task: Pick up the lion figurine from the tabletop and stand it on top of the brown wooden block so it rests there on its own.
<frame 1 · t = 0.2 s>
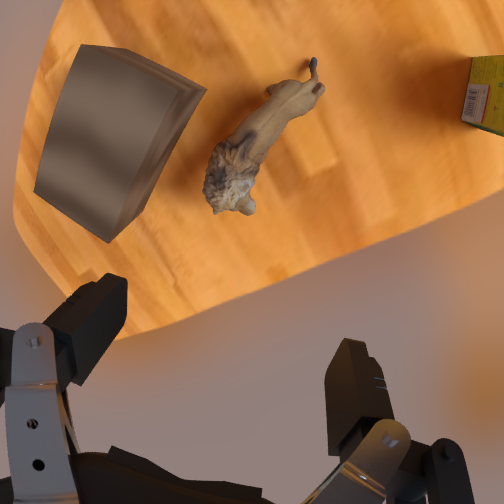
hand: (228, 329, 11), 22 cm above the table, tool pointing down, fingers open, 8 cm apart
crayon box: (476, 92, 22), on the table
lion figurine: (271, 127, 28), on the table
brown wooden block: (132, 130, 29), on the table
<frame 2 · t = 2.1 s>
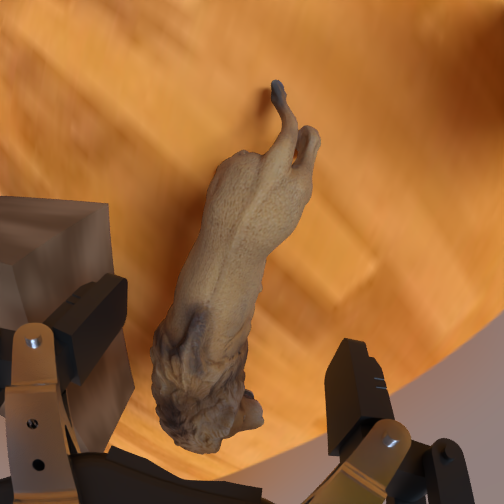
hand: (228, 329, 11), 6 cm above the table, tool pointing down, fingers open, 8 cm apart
lion figurine: (251, 237, 16), on the table
brown wooden block: (63, 298, 20), on the table
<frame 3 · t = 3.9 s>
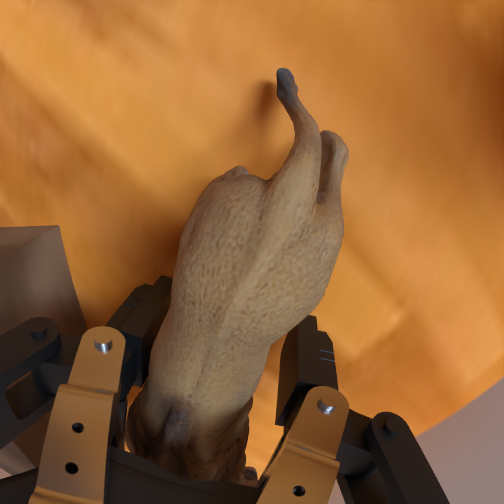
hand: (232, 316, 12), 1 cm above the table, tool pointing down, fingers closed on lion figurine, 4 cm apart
lion figurine: (252, 277, 13), on the table, touching gripper
brown wooden block: (39, 337, 16), on the table
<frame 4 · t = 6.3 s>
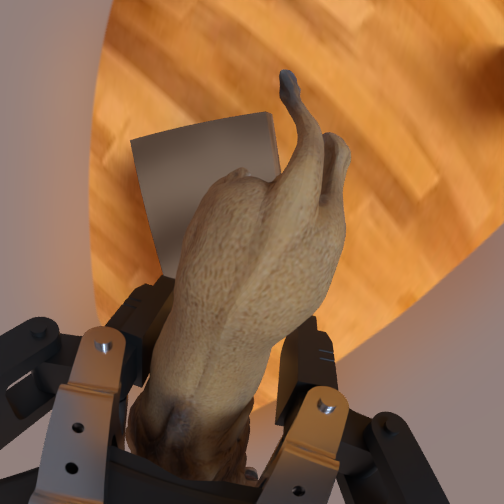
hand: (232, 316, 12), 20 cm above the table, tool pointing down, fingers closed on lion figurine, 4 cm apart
lion figurine: (254, 278, 13), point 18 cm above the table, touching gripper
brown wooden block: (231, 199, 30), on the table
when the fingers open (11 cm above the table, at t = 9.0 s): lion figurine drops 2 cm, resting on brown wooden block.
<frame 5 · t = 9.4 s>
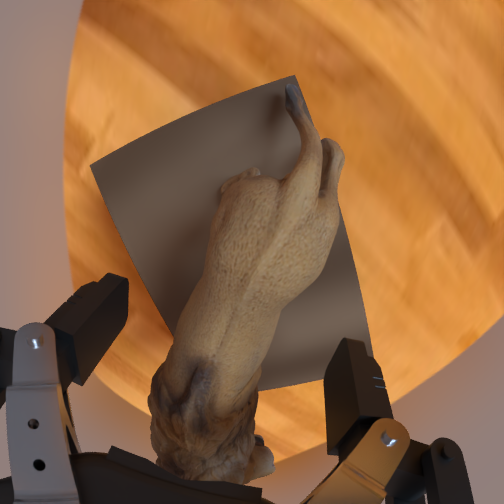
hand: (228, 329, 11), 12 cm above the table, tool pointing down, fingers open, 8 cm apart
lion figurine: (260, 264, 14), point 7 cm above the table, touching brown wooden block
brown wooden block: (259, 222, 22), on the table, touching lion figurine
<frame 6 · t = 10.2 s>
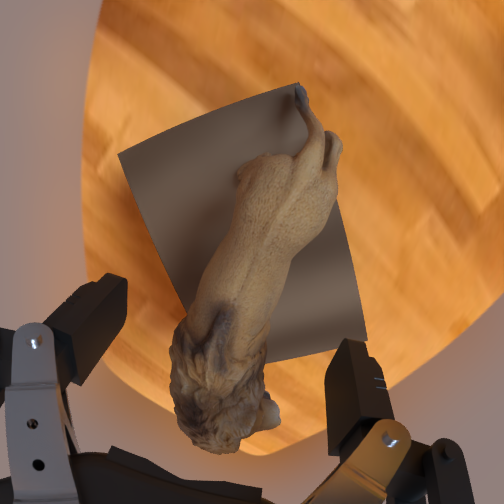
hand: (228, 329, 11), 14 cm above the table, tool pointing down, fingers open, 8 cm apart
lion figurine: (268, 239, 16), point 7 cm above the table, touching brown wooden block
brown wooden block: (263, 212, 24), on the table, touching lion figurine
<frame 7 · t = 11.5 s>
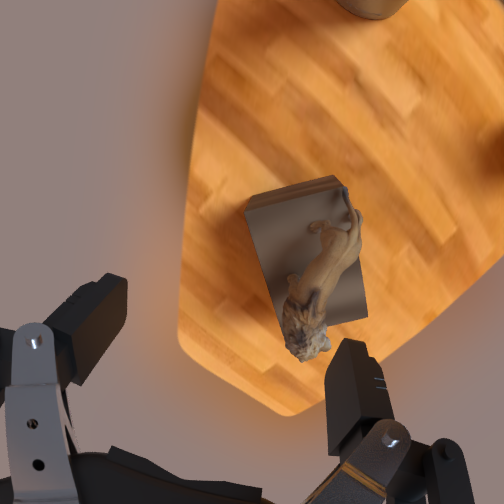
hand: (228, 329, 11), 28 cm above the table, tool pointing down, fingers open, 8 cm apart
lion figurine: (321, 258, 32), point 8 cm above the table
brown wooden block: (308, 241, 40), on the table
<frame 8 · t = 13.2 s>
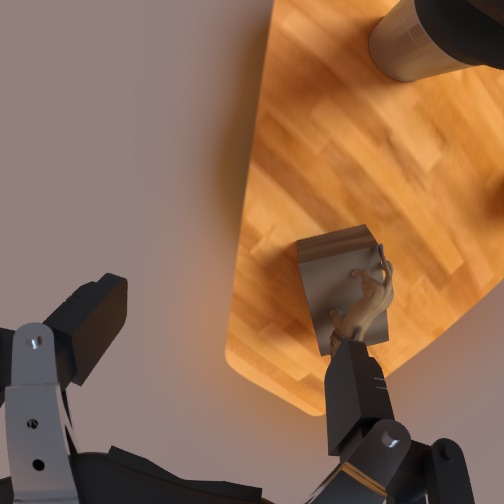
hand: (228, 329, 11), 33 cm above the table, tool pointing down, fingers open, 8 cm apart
lion figurine: (357, 297, 39), point 7 cm above the table
brown wooden block: (340, 277, 46), on the table
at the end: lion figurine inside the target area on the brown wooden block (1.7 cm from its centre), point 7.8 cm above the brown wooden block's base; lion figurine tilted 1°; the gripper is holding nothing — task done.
